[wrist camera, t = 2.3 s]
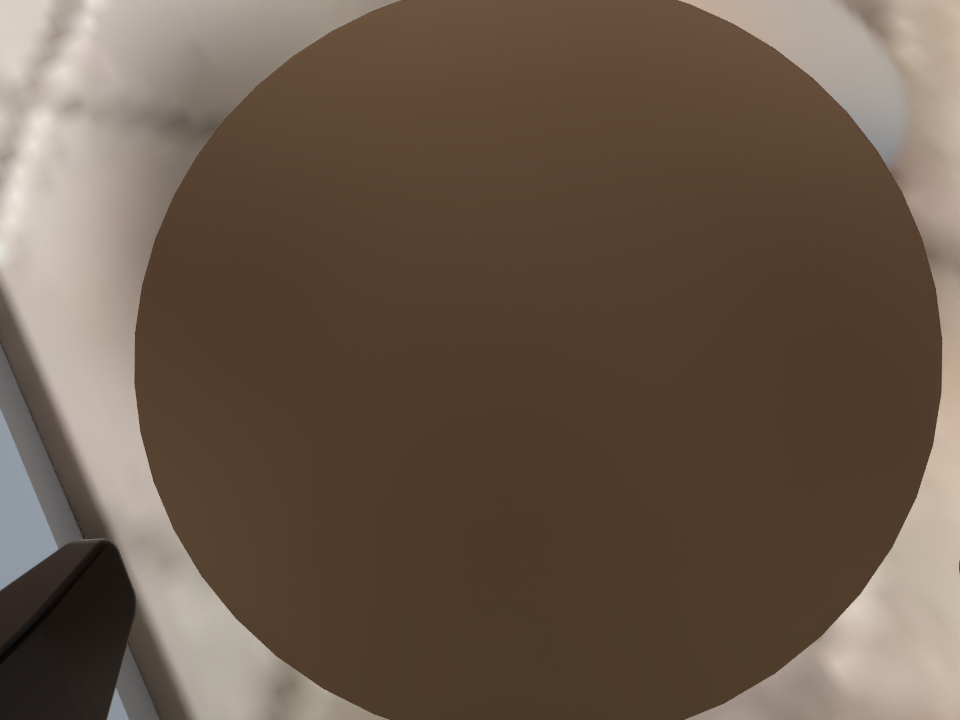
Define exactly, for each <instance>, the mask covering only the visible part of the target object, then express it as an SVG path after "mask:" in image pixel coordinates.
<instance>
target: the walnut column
mask: <svg viewBox="0 0 960 720" xmlns="http://www.w3.org/2000/svg"><path fill="white" fill-rule="evenodd" d="M134 383H135V391H136V399H137V407H138V415H139V424H140V432H141V436H142V440H143V443H144V447H145V451H146V455H147V458H148V462H149V466H150V470H151V474H152V477H153V481H154V484H155V486H156V488H157V491H158V493H159V496H160V498H161V500H162V503H163V505H164V507H165V510H166V512H167V515H168V517H169V519H170V522H171V524H172V526H173V529H174V531H175V532H176V534H177V536H178V537H179V539H180V541H181V542H182V544H183V546H184V547H185V549H186V551H187V553H188V554H189V556H190V558H191V559H192V561H193V563H194V564H195V566H196V568H197V569H198V571H199V573H200V574H201V576H202V577H203V578H204V580H205V581H206V582H207V583H208V584H209V586H210V587H211V588H212V589H213V591H214V592H215V593H216V594H217V596H218V597H219V598H220V599H221V601H222V602H223V603H224V604H225V606H226V607H227V608H228V609H229V610H230V612H231V613H232V614H233V615H234V617H235V618H236V619H237V620H238V621H239V622H240V623H242V624H243V625H244V626H245V627H246V628H247V629H248V630H249V631H250V632H251V633H252V634H253V635H254V636H255V637H257V638H258V639H259V640H260V641H261V642H262V643H263V644H264V645H265V646H266V647H267V648H268V649H269V650H270V651H272V652H273V653H274V654H275V655H276V656H277V657H279V658H280V659H282V660H283V661H284V662H286V663H287V664H289V665H290V666H292V667H293V668H294V669H296V670H297V671H299V672H300V673H302V674H303V675H304V676H306V677H307V678H309V679H310V680H312V681H313V682H315V683H316V684H317V685H319V686H320V687H322V688H323V689H325V690H327V691H329V692H331V693H333V694H335V695H337V696H339V697H341V698H343V699H345V700H347V701H349V702H351V703H353V704H355V705H357V706H359V707H361V708H363V709H365V710H367V711H369V712H371V713H373V714H375V715H378V716H381V717H384V718H387V719H390V720H684V719H687V718H689V717H692V716H694V715H697V714H699V713H702V712H704V711H707V710H709V709H711V708H714V707H716V706H719V705H721V704H724V703H725V702H727V701H729V700H731V699H732V698H734V697H736V696H737V695H739V694H741V693H742V692H744V691H746V690H748V689H749V688H751V687H753V686H754V685H756V684H758V683H759V682H761V681H763V680H765V679H766V678H768V677H770V676H771V675H773V674H775V673H776V672H777V671H779V670H780V669H781V668H782V667H784V666H785V665H786V664H787V663H789V662H790V661H791V660H792V659H794V658H795V657H796V656H797V655H798V654H800V653H801V652H802V651H803V650H805V649H806V648H807V647H808V646H810V645H811V644H812V643H813V642H815V641H816V640H817V639H818V638H820V637H821V636H822V635H823V634H824V633H825V632H826V630H827V629H828V628H829V627H830V626H831V625H832V624H833V623H834V622H835V621H836V620H837V619H838V617H839V616H840V615H841V614H842V613H843V612H844V611H845V610H846V609H847V608H848V607H849V606H850V604H851V603H852V602H853V601H854V600H855V599H856V598H857V597H858V596H859V595H860V594H861V592H862V591H863V589H864V588H865V586H866V585H867V583H868V582H869V580H870V579H871V577H872V576H873V575H874V573H875V572H876V570H877V569H878V567H879V566H880V564H881V563H882V561H883V560H884V558H885V557H886V555H887V554H888V553H889V551H890V550H891V548H892V547H893V544H894V542H895V540H896V538H897V536H898V534H899V532H900V530H901V528H902V526H903V524H904V522H905V520H906V518H907V516H908V514H909V512H910V509H911V507H912V505H913V503H914V501H915V499H916V497H917V494H918V491H919V488H920V484H921V481H922V478H923V475H924V472H925V469H926V465H927V462H928V459H929V456H930V453H931V449H932V446H933V441H934V435H935V429H936V423H937V416H938V410H939V404H940V398H941V383H942V335H941V327H940V319H939V311H938V304H937V296H936V288H935V285H934V281H933V277H932V274H931V270H930V266H929V263H928V259H927V255H926V252H925V248H924V244H923V241H922V238H921V236H920V233H919V231H918V228H917V226H916V224H915V221H914V219H913V217H912V214H911V212H910V210H909V207H908V205H907V203H906V200H905V198H904V196H903V193H902V192H901V190H900V188H899V187H898V185H897V183H896V181H895V180H894V178H893V176H892V175H891V173H890V171H889V170H888V168H887V166H886V165H885V163H884V161H883V160H882V158H881V156H880V155H879V153H878V151H877V150H876V148H875V147H874V146H873V145H872V143H871V142H870V141H869V140H868V138H867V137H866V136H865V134H864V133H863V132H862V131H861V129H860V128H859V127H858V125H857V124H856V123H855V122H854V120H853V119H852V118H851V117H850V115H849V114H848V113H847V112H846V111H845V110H844V109H843V108H842V107H841V106H840V105H839V104H838V103H837V102H836V101H835V100H834V99H833V98H832V97H831V96H830V95H829V94H828V93H827V92H826V91H825V90H824V89H823V88H822V87H821V86H820V85H819V84H818V83H817V82H816V81H815V80H814V79H813V78H812V77H810V76H809V75H808V74H807V73H805V72H804V71H803V70H802V69H800V68H799V67H798V66H796V65H795V64H794V63H792V62H791V61H790V60H789V59H787V58H786V57H785V56H784V55H782V54H781V53H780V52H778V51H777V50H776V49H774V48H773V47H771V46H769V45H768V44H766V43H764V42H763V41H761V40H759V39H758V38H756V37H754V36H753V35H751V34H749V33H748V32H746V31H744V30H743V29H741V28H739V27H738V26H736V25H734V24H732V23H730V22H728V21H726V20H724V19H721V18H719V17H717V16H715V15H713V14H710V13H708V12H706V11H703V10H701V9H699V8H697V7H695V6H693V5H690V4H687V3H684V2H681V1H678V0H401V1H399V2H396V3H393V4H390V5H388V6H385V7H382V8H379V9H377V10H374V11H372V12H370V13H368V14H366V15H364V16H362V17H360V18H358V19H356V20H354V21H352V22H350V23H348V24H346V25H344V26H342V27H340V28H337V29H335V30H333V31H332V32H330V33H328V34H327V35H325V36H324V37H322V38H321V39H319V40H318V41H316V42H315V43H313V44H311V45H310V46H308V47H307V48H305V49H304V50H302V51H301V52H299V53H297V54H296V55H294V56H293V57H292V58H290V59H289V60H288V61H287V62H286V63H284V64H283V65H282V66H281V67H280V68H278V69H277V70H276V71H275V72H273V73H272V74H271V75H270V76H269V77H267V78H266V79H265V80H264V81H262V82H261V83H260V84H259V85H258V86H257V87H256V88H255V89H254V90H253V91H252V92H251V93H250V94H249V95H248V96H247V97H246V98H245V99H244V100H243V101H242V102H241V103H240V104H239V105H238V106H237V107H236V108H235V109H234V110H233V111H232V113H231V114H230V115H229V116H228V117H227V118H226V119H225V120H224V121H223V123H222V124H221V125H220V127H219V128H218V129H217V131H216V132H215V133H214V135H213V136H212V137H211V138H210V140H209V141H208V142H207V144H206V145H205V146H204V148H203V149H202V150H201V152H200V153H199V154H198V156H197V157H196V159H195V161H194V162H193V164H192V166H191V168H190V169H189V171H188V173H187V174H186V176H185V178H184V180H183V181H182V183H181V185H180V186H179V188H178V190H177V192H176V193H175V195H174V197H173V199H172V202H171V204H170V206H169V209H168V211H167V213H166V216H165V218H164V220H163V223H162V225H161V227H160V230H159V232H158V234H157V237H156V239H155V242H154V246H153V249H152V253H151V256H150V260H149V263H148V267H147V271H146V274H145V278H144V281H143V285H142V291H141V297H140V304H139V311H138V318H137V324H136V331H135V382H134Z"/></svg>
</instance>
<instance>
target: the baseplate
mask: <svg viewBox="0 0 960 720" xmlns="http://www.w3.org/2000/svg"><path fill="white" fill-rule="evenodd" d="M80 539H83V537H82V534H81V532H80V530H79V527H78V525H77V523H76V520H75V518H74V516H73V513H72V511H71V508H70V506H69V504H68V501H67V499H66V497H65V494H64V492H63V490H62V487H61V485H60V483H59V480H58V478H57V475H56V473H55V471H54V468H53V466H52V464H51V461H50V459H49V457H48V454H47V452H46V450H45V447H44V445H43V442H42V440H41V438H40V435H39V433H38V431H37V428H36V426H35V424H34V421H33V419H32V417H31V414H30V412H29V409H28V407H27V405H26V402H25V400H24V398H23V395H22V393H21V391H20V388H19V386H18V384H17V381H16V379H15V377H14V374H13V372H12V369H11V367H10V365H9V362H8V360H7V358H6V355H5V353H4V351H3V348H2V346H1V344H0V590H1V589H3V588H4V587H6V586H7V585H9V584H10V583H11V582H13V581H14V580H16V579H17V578H19V577H20V576H21V575H23V574H24V573H26V572H27V571H28V570H30V569H31V568H33V567H34V566H36V565H37V564H38V563H40V562H41V561H43V560H44V559H46V558H47V557H48V556H50V555H51V554H53V553H54V552H56V551H57V550H58V549H60V548H61V547H63V546H64V545H66V544H67V543H69V542H71V541H74V540H80ZM107 720H160V718H159V716H158V713H157V711H156V709H155V706H154V704H153V702H152V699H151V697H150V695H149V692H148V690H147V688H146V685H145V683H144V680H143V678H142V676H141V673H140V671H139V669H138V666H137V664H136V662H135V659H134V657H133V655H132V652H131V650H130V647H129V645H128V644H127V648H126V652H125V655H124V659H123V663H122V666H121V670H120V674H119V677H118V681H117V685H116V689H115V692H114V696H113V700H112V703H111V707H110V711H109V714H108V718H107Z"/></svg>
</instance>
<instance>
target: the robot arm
mask: <svg viewBox="0 0 960 720" xmlns="http://www.w3.org/2000/svg"><path fill="white" fill-rule="evenodd" d="M959 571H960V562H959ZM135 613H136V597H135V592H134V589H133V587H132V584H131V581H130V579H129V576H128V573H127V571H126V568H125V565H124V563H123V560H122V558H121V555H120V552H119V550H118V548H117V546H116V544H115V543H114V542H113V541H111V540H109V539H105V538H103V539H80V540H74V541H71V542H69V543H67V544H66V545H64V546H63V547H61V548H60V549H58V550H57V551H56V552H54V553H53V554H51V555H50V556H48V557H47V558H46V559H44V560H43V561H41V562H40V563H38V564H37V565H36V566H34V567H33V568H31V569H30V570H28V571H27V572H26V573H24V574H23V575H21V576H20V577H19V578H17V579H16V580H14V581H13V582H11V583H10V584H9V585H7V586H6V587H4V588H3V589H1V590H0V720H107V718H108V714H109V711H110V707H111V703H112V700H113V696H114V692H115V689H116V685H117V681H118V677H119V674H120V670H121V666H122V663H123V659H124V655H125V652H126V648H127V644H128V641H129V637H130V633H131V629H132V626H133V622H134V618H135Z"/></svg>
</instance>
